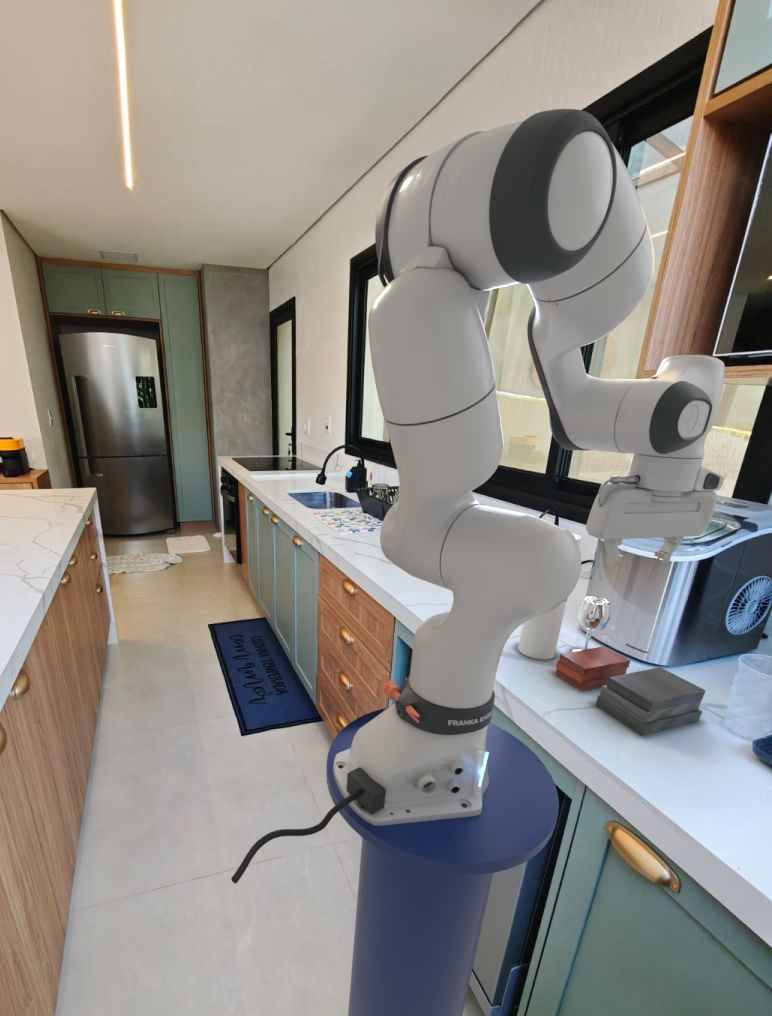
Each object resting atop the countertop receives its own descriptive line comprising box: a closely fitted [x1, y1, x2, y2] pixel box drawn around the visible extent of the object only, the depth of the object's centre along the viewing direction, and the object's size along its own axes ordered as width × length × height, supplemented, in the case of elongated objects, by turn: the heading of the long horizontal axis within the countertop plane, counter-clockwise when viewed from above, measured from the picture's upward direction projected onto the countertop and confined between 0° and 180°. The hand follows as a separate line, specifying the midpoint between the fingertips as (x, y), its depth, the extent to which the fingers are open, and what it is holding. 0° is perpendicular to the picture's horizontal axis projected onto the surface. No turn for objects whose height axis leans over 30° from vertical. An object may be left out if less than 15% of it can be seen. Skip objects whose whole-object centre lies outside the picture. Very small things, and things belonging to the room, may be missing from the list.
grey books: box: [595, 666, 706, 737], centre depth 84 cm, size 13×9×6 cm
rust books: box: [555, 660, 628, 692], centre depth 95 cm, size 11×6×3 cm, turn 110°
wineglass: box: [571, 596, 612, 652], centre depth 103 cm, size 6×6×12 cm
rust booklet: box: [558, 645, 631, 676], centre depth 94 cm, size 11×6×2 cm, turn 110°
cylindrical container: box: [517, 532, 582, 660], centre depth 101 cm, size 7×7×25 cm
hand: (636, 563), depth 80 cm, fingers open, 8 cm apart
